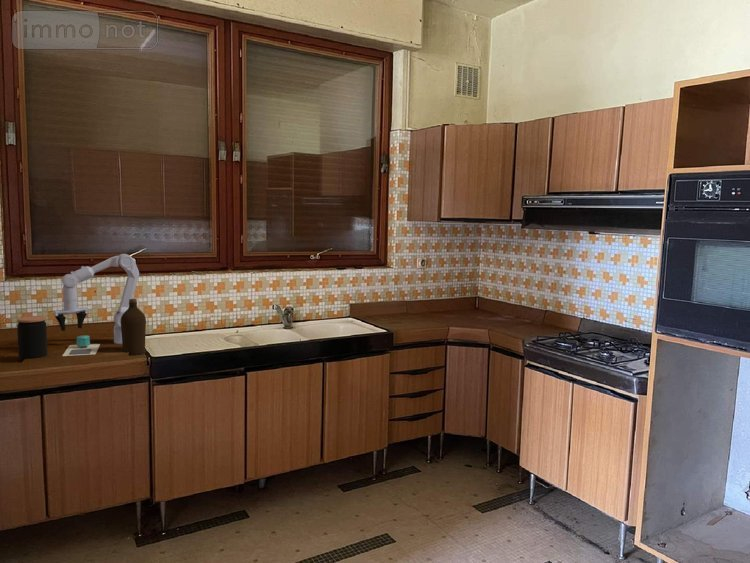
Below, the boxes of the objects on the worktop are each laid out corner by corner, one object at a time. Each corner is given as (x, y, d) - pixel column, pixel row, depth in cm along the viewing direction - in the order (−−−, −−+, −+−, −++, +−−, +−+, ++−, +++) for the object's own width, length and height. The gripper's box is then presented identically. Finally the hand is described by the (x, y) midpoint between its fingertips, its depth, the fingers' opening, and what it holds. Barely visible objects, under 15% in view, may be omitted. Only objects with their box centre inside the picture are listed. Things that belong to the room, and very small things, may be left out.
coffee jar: (51, 356, 247) (50, 315, 245) (41, 362, 237) (40, 320, 235) (25, 356, 246) (23, 315, 244) (14, 362, 235) (12, 320, 233)
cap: (90, 343, 262) (90, 335, 261) (89, 346, 257) (88, 337, 257) (77, 344, 260) (77, 335, 260) (76, 346, 255) (76, 338, 255)
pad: (91, 349, 255) (91, 348, 254) (89, 353, 247) (89, 352, 247) (71, 350, 252) (71, 349, 252) (69, 354, 244) (69, 353, 244)
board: (100, 346, 266) (100, 343, 266) (95, 357, 247) (95, 354, 247) (69, 348, 262) (69, 345, 261) (62, 359, 242) (62, 356, 242)
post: (87, 346, 261) (87, 337, 260) (86, 347, 258) (86, 339, 257) (80, 346, 259) (79, 338, 259) (79, 348, 257) (79, 339, 256)
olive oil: (133, 356, 250) (132, 301, 247) (116, 354, 254) (114, 299, 251) (151, 352, 259) (150, 298, 256) (134, 349, 263) (133, 296, 261)
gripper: (81, 297, 265) (82, 325, 267) (49, 301, 254) (50, 330, 255) (89, 299, 261) (90, 327, 263) (57, 302, 250) (58, 332, 251)
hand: (71, 329), depth 259 cm, fingers open, 7 cm apart
